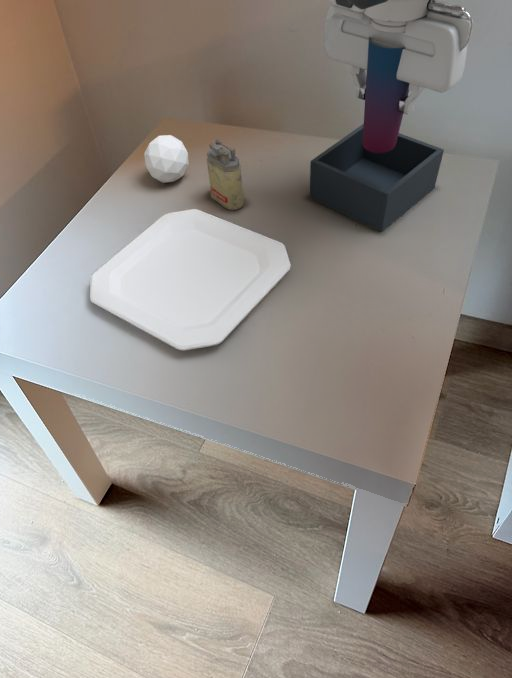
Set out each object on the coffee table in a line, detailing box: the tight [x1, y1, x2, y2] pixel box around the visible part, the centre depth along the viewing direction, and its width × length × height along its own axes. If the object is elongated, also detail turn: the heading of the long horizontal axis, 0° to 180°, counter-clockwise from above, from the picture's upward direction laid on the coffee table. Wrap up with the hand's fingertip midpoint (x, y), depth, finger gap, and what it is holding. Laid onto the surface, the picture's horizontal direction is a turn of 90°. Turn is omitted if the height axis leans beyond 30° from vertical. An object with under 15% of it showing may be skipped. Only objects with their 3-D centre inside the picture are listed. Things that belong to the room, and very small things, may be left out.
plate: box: [89, 208, 292, 352], centre depth 80 cm, size 25×25×2 cm
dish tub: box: [308, 123, 445, 233], centre depth 87 cm, size 15×15×7 cm
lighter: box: [206, 138, 245, 211], centre depth 89 cm, size 7×4×10 cm, turn 37°
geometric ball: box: [143, 134, 190, 184], centre depth 95 cm, size 8×8×8 cm
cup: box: [362, 37, 410, 153], centre depth 77 cm, size 7×7×15 cm
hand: (383, 104), depth 78 cm, fingers closed on cup, 6 cm apart
